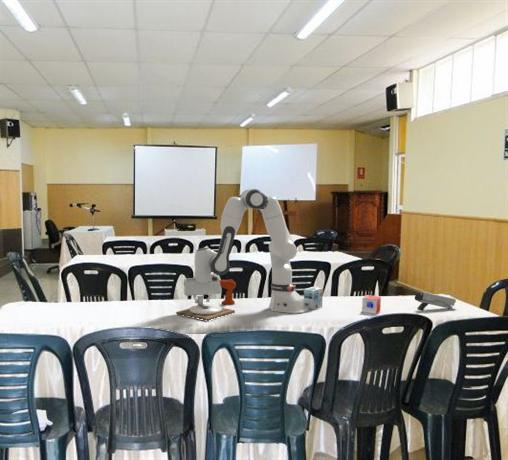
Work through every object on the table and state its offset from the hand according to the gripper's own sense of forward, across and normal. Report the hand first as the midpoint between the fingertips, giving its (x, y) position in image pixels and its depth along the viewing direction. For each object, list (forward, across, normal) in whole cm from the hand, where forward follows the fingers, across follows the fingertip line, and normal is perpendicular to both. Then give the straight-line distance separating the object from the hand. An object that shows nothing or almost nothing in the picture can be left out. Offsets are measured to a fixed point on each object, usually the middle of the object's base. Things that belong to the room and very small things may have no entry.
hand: (202, 302), depth 261 cm
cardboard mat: (+5, 0, -7) cm, 8 cm away
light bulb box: (+4, +62, -10) cm, 63 cm away
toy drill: (+5, +14, +12) cm, 19 cm away
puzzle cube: (+4, +89, -28) cm, 94 cm away
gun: (+4, +127, -35) cm, 132 cm away
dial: (+3, 0, -7) cm, 7 cm away
